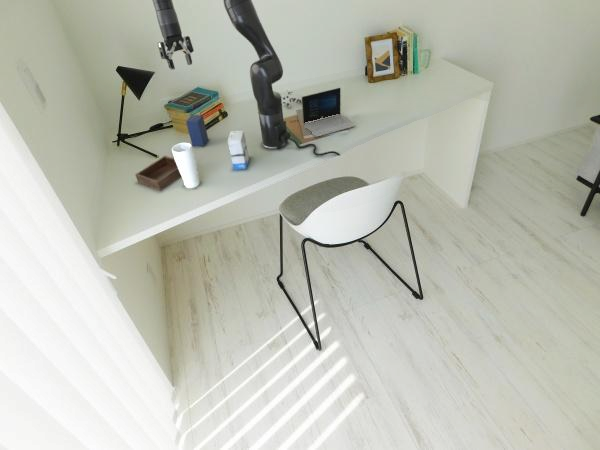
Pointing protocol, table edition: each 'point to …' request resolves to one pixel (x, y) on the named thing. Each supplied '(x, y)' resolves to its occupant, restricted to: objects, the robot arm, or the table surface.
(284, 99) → the molecule model
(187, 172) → the drinking glass
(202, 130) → the carton
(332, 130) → the laptop
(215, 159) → the table surface
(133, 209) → the table surface
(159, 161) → the desk tray
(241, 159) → the ink box
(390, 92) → the table surface
